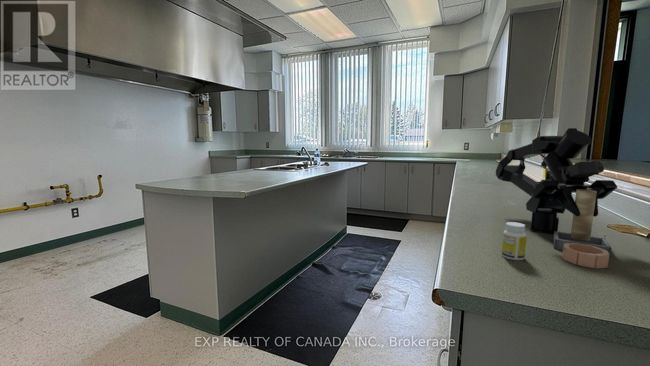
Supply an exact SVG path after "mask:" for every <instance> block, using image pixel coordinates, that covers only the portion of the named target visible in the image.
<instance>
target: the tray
mask: <svg viewBox="0 0 650 366" xmlns="http://www.w3.org/2000/svg"><path fill="white" fill-rule="evenodd" d="M552 243H553V248H554V249H557V250H562V251H563V245H564V244H566V243H579V244H585V245H591V246H595V247H598V248H601V249H604V250H606V251H608V253H609V258H611V256H612V249H613V248H612V246H611V245H610V243H609V242H608V240H607V238H606V237H600V236H595V235H593V236H592V235H591V237H590V240H589V241H583V240H577V239H574V238H571V232H563V231H559V230H558V231H554V234H553V237H552Z"/></svg>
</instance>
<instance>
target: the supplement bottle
mask: <svg viewBox="0 0 650 366" xmlns="http://www.w3.org/2000/svg"><path fill="white" fill-rule="evenodd" d="M525 231H526V224H524V223H521V222H515V221H507V222H506V223H505V230H503V233H502V234H503V235H502V237H503V238H502V250H501V255H502V256H503V257H504V258H506V259H509V260H513V261H523V260H525V257H526V244H527V243H526V242H527V233H526V232H525Z"/></svg>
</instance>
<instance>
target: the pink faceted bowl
mask: <svg viewBox="0 0 650 366" xmlns="http://www.w3.org/2000/svg"><path fill="white" fill-rule="evenodd" d="M561 256H562V260H564V261H566V262H569V263H570V264H573V265H576V266H581V267H584V268H585V267H586V268H592V269H604V268H606V269H607V268H609V261H610V260H609V259H610V257H609V253H608V251H606V250H604V249H601V248H598V247H595V246H591V245H585V244H579V243H566V244H564V245H563V250H562V254H561Z"/></svg>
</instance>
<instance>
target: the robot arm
mask: <svg viewBox="0 0 650 366" xmlns="http://www.w3.org/2000/svg"><path fill="white" fill-rule="evenodd" d="M591 142H592V137H591V136H590V135H588V134H587V133H585V132H583V131H580V130H578V129H577V128H576V127H573V128H569V127H568V128H567V129H566V131H565V133H564V134H563V135H538V136H537V137H535V138H533V139H532V140H531V143H529V144H526V145H523V146H520V147H517V148H514V149H509V150H508V151H507V152H506V156H505V157H503V158H502V159H501V160H499V162H498V164H497V166H496V169H495V176H496V178H497V179H498V180H499V181H501V182H502V181H503V182H508V183H511V184H513V185H514V186H515V187H517V188H519V189H520V190H521V191H523V192H524V193H526V194H527V195H529V196H530V198H529V199H528V200H527V202H526V203H525V208H526V211H530V212H531V219H530V220H531V222H530V227H529V231H531V232H536V233H542V234H543V233H545V234H549V235H550V234H551V235H554V231H558V232H559V223H560V218H559V217H558V214H564V213H565V212H566V211H569V212H570V213H571V214H572V215H573V214H574V215H575V216H579V215H580V211H579V209H578V207H577V205H576V203H575V199H574V198H573V195H572V193H575V194H576V190H577V189H586V190H594V191H597V193H596V201H595V208H594V215H593V218H594V217H595V218H596V217H598V216H599V204H598V203H599V200H602V199H605V198H606V197H607V196H609V195H610V194H612V193H613V192H614V191H615V190H617V189H618V185H617V184H616V182H615V181H614V180H612V179H611V180H610V179H596V180H594V181H593V182H592V183H591V184H586V183H588V182H589V181H590V177H592V176H597V175H599V174H601V173H603V172H604V171H605V167H604V164H603V163H602V162H601V161H600V160H592V161H578V162H575V163H573V161H572V159H576V158H577V157H579V156H580V155H581V153H583V151H584V150H586V148H587V147H588V146H589V145H590V144H591ZM541 155H545V157H543V160H542V162H541V163H540V166H541V168H543V167H544V168H548V170H549V172H550V174H551V175H550V176H549V179H541V180H540V181H539V182H538V181H536V180H534V179H533V178H531V177H530V176H528V175H526V173H524V172H525V170H526V165H525V160H526V159H528V158H529V159H530V158H533V157H536V156H537V157H538V156H541ZM512 161H519V164H517V165H516V164H515V165H514V164H513V165H512V164H511V163H512Z"/></svg>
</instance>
